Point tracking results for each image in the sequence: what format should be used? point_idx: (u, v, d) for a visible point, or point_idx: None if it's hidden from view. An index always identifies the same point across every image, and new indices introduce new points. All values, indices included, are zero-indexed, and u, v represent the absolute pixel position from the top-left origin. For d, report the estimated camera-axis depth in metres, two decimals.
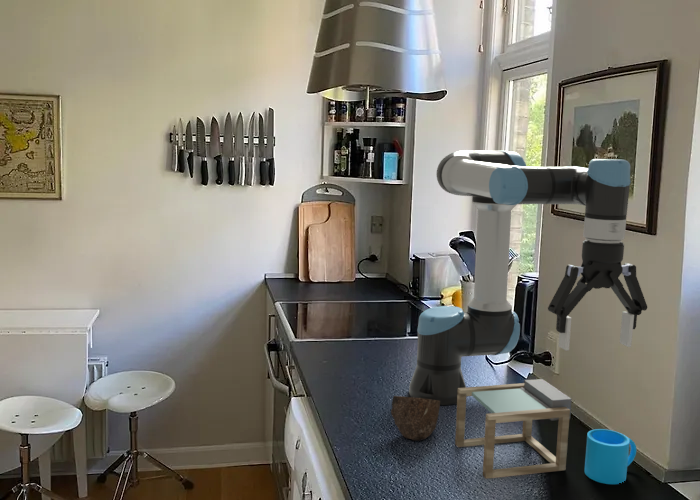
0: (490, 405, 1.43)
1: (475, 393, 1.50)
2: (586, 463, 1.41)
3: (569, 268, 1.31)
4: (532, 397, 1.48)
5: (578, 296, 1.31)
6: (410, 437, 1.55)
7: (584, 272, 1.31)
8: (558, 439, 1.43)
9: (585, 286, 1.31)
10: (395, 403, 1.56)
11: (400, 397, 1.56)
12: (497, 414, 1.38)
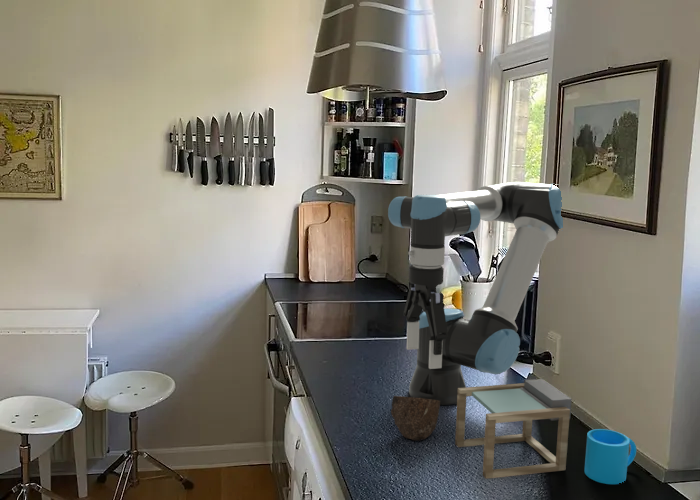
0: (490, 405, 1.43)
1: (475, 393, 1.50)
2: (586, 463, 1.41)
3: None
4: (532, 397, 1.48)
5: (411, 306, 1.58)
6: (410, 437, 1.55)
7: None
8: (558, 439, 1.43)
9: None
10: (395, 403, 1.56)
11: (400, 397, 1.56)
12: (497, 414, 1.38)
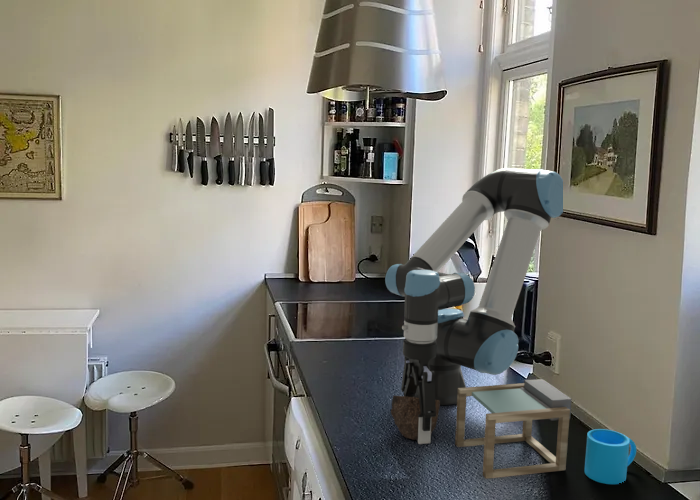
0: (490, 405, 1.43)
1: (475, 393, 1.50)
2: (586, 463, 1.41)
3: None
4: (532, 397, 1.48)
5: (407, 381, 1.60)
6: (410, 437, 1.55)
7: None
8: (558, 439, 1.43)
9: None
10: (395, 403, 1.56)
11: (400, 397, 1.56)
12: (497, 414, 1.38)
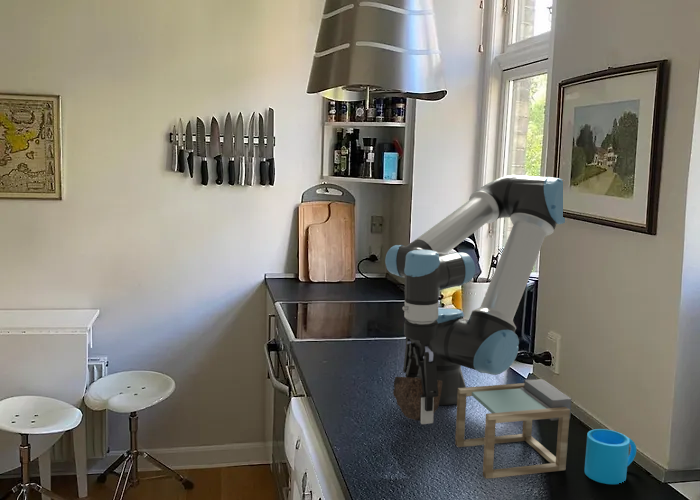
0: (490, 405, 1.43)
1: (475, 393, 1.50)
2: (586, 463, 1.41)
3: None
4: (532, 397, 1.48)
5: (409, 362, 1.59)
6: (412, 418, 1.55)
7: None
8: (558, 439, 1.43)
9: None
10: (397, 384, 1.56)
11: (402, 378, 1.55)
12: (497, 414, 1.38)
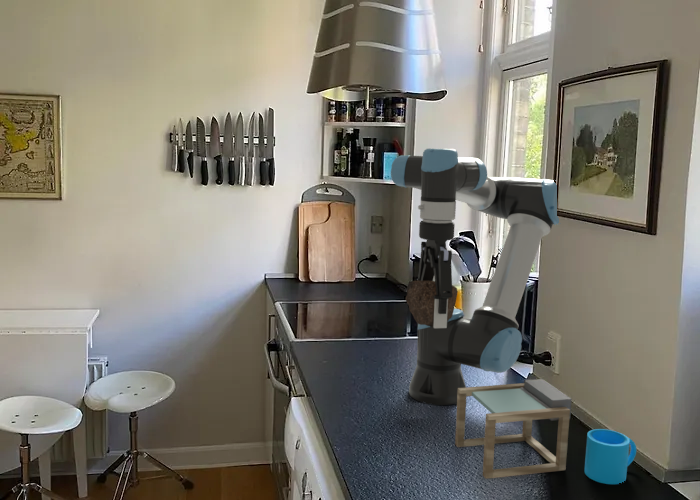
0: (490, 405, 1.43)
1: (475, 393, 1.50)
2: (586, 462, 1.41)
3: None
4: (532, 397, 1.48)
5: (423, 268, 1.54)
6: (425, 323, 1.49)
7: None
8: (558, 439, 1.43)
9: None
10: (410, 288, 1.50)
11: (415, 281, 1.50)
12: (497, 414, 1.38)
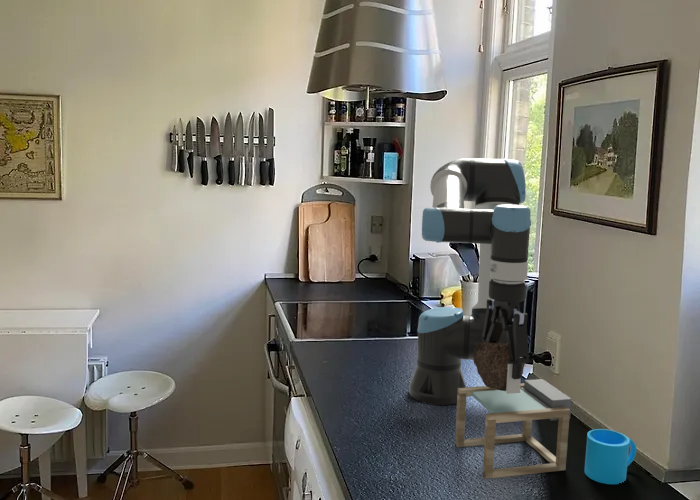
0: (490, 405, 1.43)
1: (475, 393, 1.50)
2: (586, 463, 1.41)
3: None
4: (532, 397, 1.48)
5: (490, 328, 1.47)
6: (495, 387, 1.43)
7: None
8: (558, 439, 1.43)
9: None
10: (479, 350, 1.44)
11: (484, 343, 1.43)
12: (497, 414, 1.38)
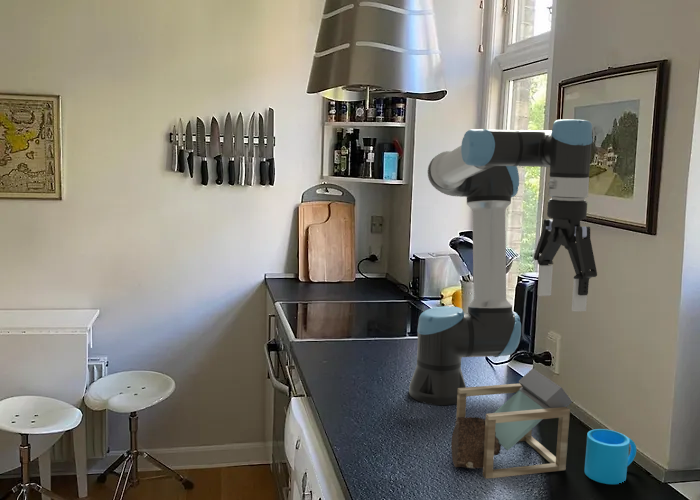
0: (499, 437, 1.45)
1: None
2: (586, 463, 1.41)
3: None
4: (531, 399, 1.48)
5: (545, 247, 1.43)
6: None
7: None
8: (558, 439, 1.43)
9: None
10: None
11: None
12: (497, 414, 1.38)
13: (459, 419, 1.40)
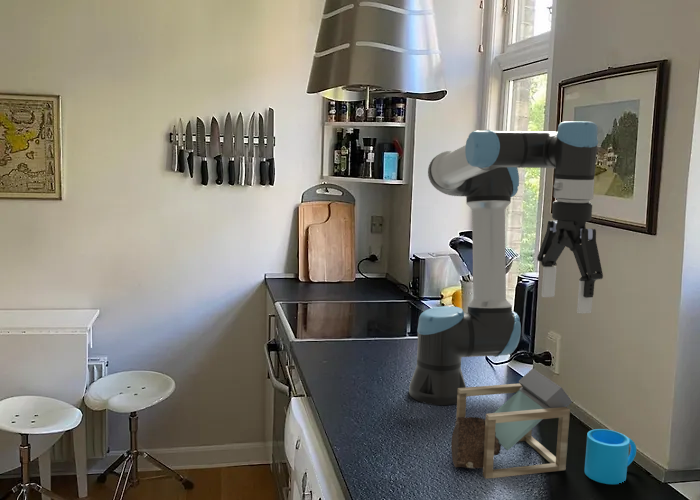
0: (499, 437, 1.45)
1: None
2: (586, 463, 1.41)
3: None
4: (531, 399, 1.48)
5: (550, 249, 1.43)
6: None
7: None
8: (558, 439, 1.43)
9: None
10: None
11: None
12: (497, 414, 1.38)
13: (459, 419, 1.40)
